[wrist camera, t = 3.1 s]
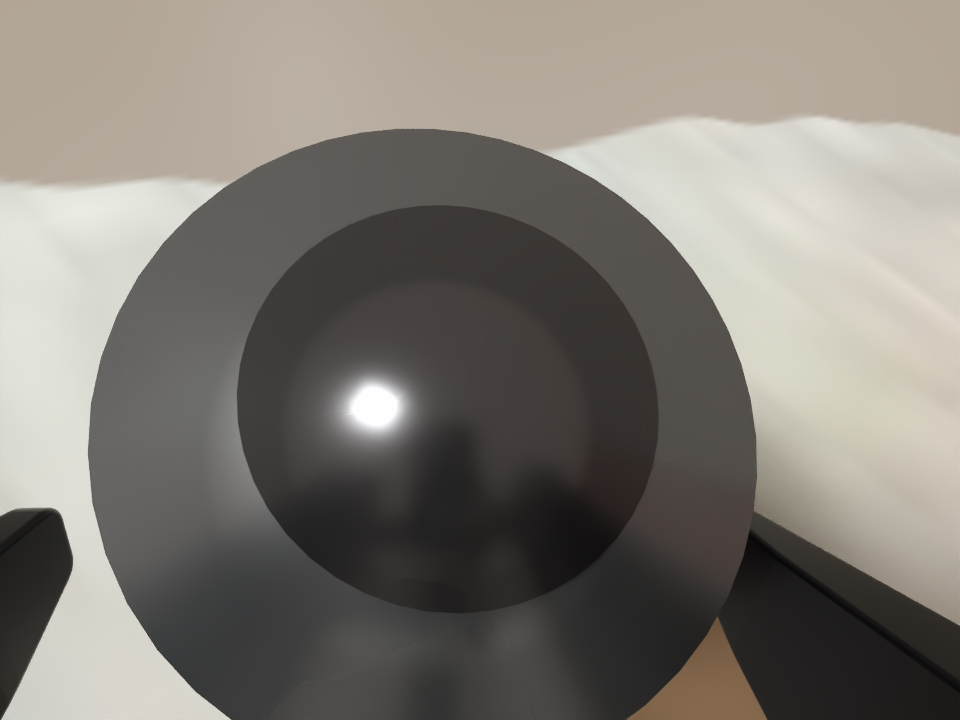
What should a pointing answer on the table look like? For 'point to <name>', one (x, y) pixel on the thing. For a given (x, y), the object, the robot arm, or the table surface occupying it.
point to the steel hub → (422, 440)
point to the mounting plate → (706, 687)
